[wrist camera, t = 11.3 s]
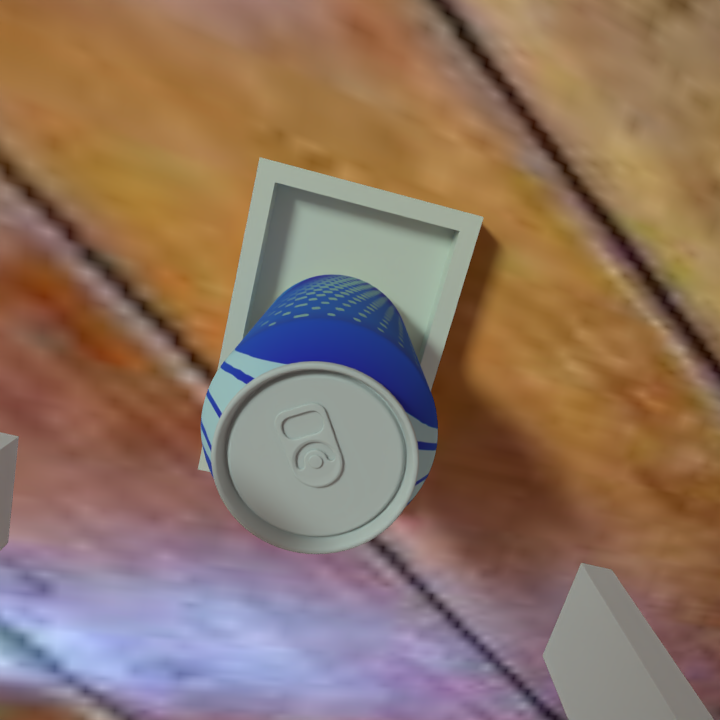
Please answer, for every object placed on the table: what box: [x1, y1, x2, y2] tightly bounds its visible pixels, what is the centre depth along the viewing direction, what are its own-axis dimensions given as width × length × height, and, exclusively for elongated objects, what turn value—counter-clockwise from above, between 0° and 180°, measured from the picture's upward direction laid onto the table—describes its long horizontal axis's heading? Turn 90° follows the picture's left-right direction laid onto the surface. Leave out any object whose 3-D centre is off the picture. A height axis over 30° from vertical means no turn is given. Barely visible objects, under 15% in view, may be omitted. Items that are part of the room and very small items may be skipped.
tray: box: [198, 157, 483, 472], centre depth 33 cm, size 18×12×2 cm, turn 166°
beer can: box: [201, 274, 438, 554], centre depth 26 cm, size 8×8×16 cm
